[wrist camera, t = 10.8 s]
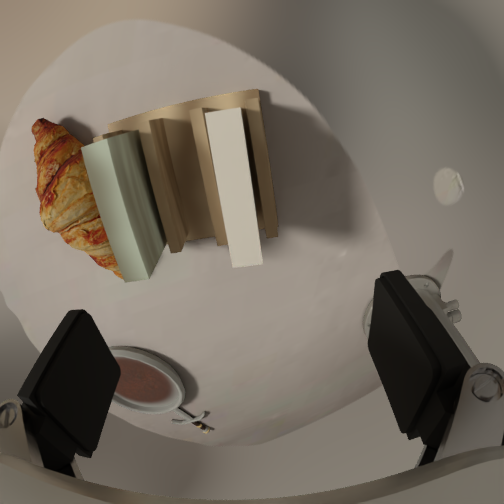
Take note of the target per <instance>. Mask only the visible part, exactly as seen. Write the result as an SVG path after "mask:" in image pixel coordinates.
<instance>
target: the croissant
mask: <svg viewBox="0 0 504 504" xmlns="http://www.w3.org/2000/svg"><path fill="white" fill-rule="evenodd" d="M32 133H33V134H34V136H35V140H36V144H35V145H34V147H35V148H34V156H35V161H34V162H36V165H37V174H38V176H37V188H36V192H37V195H38V197H39V200H40V202H41V204H40V216H41V221H42V222H43V225H44V227H45V228H46V229H47V230H50V231H52V232H58V233H60V234H61V237H62V238H63V239H64V241H65V242H66V243H67V244H69V245H70V246H71V247H72V248H75V249H78V250H82V251H85V252H86V253H87V254H89V256H90V257H91V258H92V259H93V260H94V261H95V262H96V263H97V264H98V265H99V266H101V267H104V268H105V269H108V270H112V271H113V272H114V273H115V275H116V276H118V277H119V278H121V279H123V276H122V274H121V271H120V269H119V266H118V264H117V261H116V259H115V256H114V253H113V251H112V248H111V245H110V243H109V240H108V237H107V234H106V231H105V228H104V225H103V222H102V220H101V216H100V213H99V210H98V207H97V204H96V201H95V198H94V194H93V191H92V187H91V184H90V181H89V177H88V173H87V170H86V166H85V162H84V158H83V154H82V150H81V147H84V145H83V144H82V143H81V142H79V141H78V140H77V139H76V138H75V137H74V136H72V135H70V134H69V132H68V131H67V130H66V129H65V128H64V127H63V126H60V125H58V124H55V123H52V122H50V121H48V120H46V119H44V118H41V119H38V120H37V121H36V122H35V123H34V125H33V126H32ZM123 280H124V279H123Z"/></svg>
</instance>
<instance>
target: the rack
mask: <svg viewBox="0 0 504 504" xmlns="http://www.w3.org/2000/svg"><path fill="white" fill-rule="evenodd" d="M239 107H241V109H242V116H243V122H244V129H245V136H246V143H247V150H248V156H249V163H250V170H251V177H252V184H253V191H254V198H255V205H256V212H257V220H258V228H259V229H265V231H266V236H267V238H273V237H278V232H277V227H278V220H277V212H276V205H275V197H274V190H273V183H272V176H271V169H270V162H269V155H268V148H267V142H266V135H265V129H264V122H263V116H262V110H261V103H260V97H259V91H258V89H253V90H246V91H240V92H234V93H228V94H222V95H217V96H211V97H206V98H202V99H197V100H192V101H188V102H184V103H179V104H175V105H171V106H167V107H163V108H160V109H156V110H152V111H149V112H145V113H142V114H139V115H135V116H132V117H129V118H126V119H122V120H119V121H116V122H113V123H110V124H108V128H109V133H107V134H104V135H100V136H98V137H95V138H93V142H94V143H92V144H90V145H87V146H84V147H81V150H82V154H83V158H84V162H85V166H86V170H87V173H88V177H89V181H90V184H91V187H92V191H93V194H94V198H95V201H96V204H97V207H98V210H99V213H100V216H101V220H102V222H103V225H104V228H105V231H106V234H107V237H108V240H109V243H110V245H111V248H112V251H113V253H114V256H115V259H116V261H117V264H118V266H119V269H120V271H121V274H122V276H123V279H124V281H125V282H132V281H140V280H147V279H150V276H151V274H152V272H153V270H154V268H155V266H156V264H157V262H158V260H159V258H160V256H161V254H162V252H163V250H164V248H165V246H166V244H168V245H169V248H170V252H171V253H177V252H181V251H182V249H183V246H184V243H185V241H190V240H196V239H202V238H208V237H214V236H215V237H216V241H217V246H221V245H227V244H228V240H227V235H226V230H225V224H224V219H223V214H222V208H221V203H220V198H219V192H218V187H217V181H216V175H215V170H214V164H213V158H212V153H211V147H210V141H209V135H208V129H207V124H206V118H205V113H208V112H214V111H220V110H226V109H232V108H239Z"/></svg>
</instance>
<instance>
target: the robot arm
mask: <svg viewBox="0 0 504 504" xmlns="http://www.w3.org/2000/svg"><path fill="white" fill-rule="evenodd" d="M458 307H459V304H458V301H457V300H453V301H450V302H448V303H445V302H443V301H442V300H441V294H440V290H439V288H438V286H437V285H436V284H435V283H434V282H433V281H432V280H431V279H430V278H428V277H426V276H423V275H410V276H404V275H403V274H402V272H401V271H400V270H395V271H389V272H384V273H381V275H380V278H377V279H376V280H375V288H374V298H373V300H372V301H371V303H370V304H369V306H368V308H367V310H366V312H365V315H364V319H363V329H364V332H365V335H366V337H367V338H368V349H369V352H370V355H371V357H372V359H373V362H374V364H375V367H376V369H377V371H378V374H379V376H380V379H381V381H382V384H383V386H384V389H385V392H386V394H387V396H388V399H389V402H390V404H391V407H392V410H393V413H394V415H395V418H396V421H397V423H398V426H399V429H400V431H401V433H406V434H407V437H408V439H409V440H411V439H414V438H417V437H421V439H422V442H423V444H424V448H423V450H422V452H421V455H420V457H419V459H418V461H417V464H416V466H415V468H414V469H411V470H408V471H405V472H402V473H398V474H395V475H392V476H389V477H385V478H382V479H378V480H374V481H370V482H366V483H362V484H358V485H354V486H350V487H345V488H340V489H336V490H330V491H325V492H319V493H312V494H305V495H298V496H290V497H280V498H267V499H251V500H250V499H249V500H206V499H188V498H176V497H166V496H159V495H151V494H144V493H138V492H132V491H127V490H122V489H117V488H112V487H108V486H103V485H99V484H95V483H91V482H88V481H84V479H83V477H82V474H81V472H80V470H79V467H78V465H77V463H76V460H75V458H74V455H75V453H77V454H78V455H79V456H83V457H87V458H91V456H92V453H93V451H95V450H96V448H97V445H98V442H99V439H100V435H101V432H102V429H103V426H104V423H105V419H106V416H107V413H108V410H109V407H110V404H111V401H112V399H113V396H114V393H115V390H116V387H117V384H118V381H119V379H120V376H121V369H120V366H119V364H118V363H117V361H116V359H115V358H114V356H113V354H112V353H111V351H110V349H109V348H108V346H107V344H106V342H105V340H104V339H103V337H102V335H101V333H100V331H99V330H98V328H97V326H96V324H95V322H94V320H93V318H92V316H91V315H90V314H88V313H87V312H86V311H85V310H83V309H81V310H70V311H69V312H68V313H67V314H66V316H65V317H64V318H63V320H62V321H61V323H60V324H59V326H58V327H57V329H56V331H55V332H54V334H53V335H52V337H51V338H50V340H49V341H48V343H47V345H46V346H45V348H44V349H43V351H42V353H41V354H40V356H39V358H38V359H37V361H36V363H35V364H34V366H33V368H32V370H31V371H30V373H29V375H28V377H27V378H26V380H25V382H24V384H23V386H22V388H21V389H20V391H19V393H18V395H17V396H18V397H19V398H20V399H21V400H22V401H23V404H22V405H21V404H20V403H19V402H18V401H17V400H15V399H8V400H6V401H4V402H2V403H1V404H0V504H504V372H503V371H502V370H501V369H500V368H499V367H497V366H495V365H493V364H489V363H480V362H479V361H478V359H477V358H476V356H475V355H474V353H473V352H472V350H471V349H470V347H469V346H468V344H467V343H466V341H465V340H464V339H463V337H462V336H461V334H460V333H459V332H458V330H457V329H456V328H455V326H454V325H453V323H456V322H459V321H460V320H461V313H460V311H459V310H454V309H457V308H458ZM451 310H454V311H451ZM448 311H451V312H448Z"/></svg>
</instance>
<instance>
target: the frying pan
mask: <svg viewBox="0 0 504 504" xmlns="http://www.w3.org/2000/svg"><path fill="white" fill-rule="evenodd" d="M108 348H109V349H110V351H111V353H112V354H113V356H114V358H115V359H116V361H117V363H118V364H119V366H120V369H121V376H120V379H119V381H118V384H117V387H116V390H115V393H114V396H113V399H112V402H114V403H115V404H117V405H119V406H121V407H124V408H126V409H129V410H131V411H135V412H139V413H144V414H163V413H168V412H171V411H173V412H175V413H176V414H178V415H179V416H181V417H182V418H184V419H185V420H184V421H179V420H172V424H181V425H184V424H188V423H193V424H194V425H196V426H197V427H199V428H201V429H202V431H203V433H208V432H209V431H210V428H209V427H207V426H203V425H202V424H201V423H199V422H197V421H199V420H201V419H202V418H203V417H204V415H205V411H204V412H203V413H202V414H201V416H199V417H195V418H192V417H190V416H189V415H187V414H186V413H184V412H183V411H182V410H180V409H179V408H178V407H179V406H180V404H181V403H182V402H183V401H184V399H185V389H184V386H183V384H182V382H181V380H180V377H179V375H178V374H177V373H176V371H175V370H174V369H173V368H172V367H171V366H170V365H169V364H168V363H166V362H165V361H163V360H162V359H160V358H159V357H157V356H155V355H153V354H150V353H148V352H146V351H144V350H140V349H136V348H132V347H128V346H112V347H108Z"/></svg>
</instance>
